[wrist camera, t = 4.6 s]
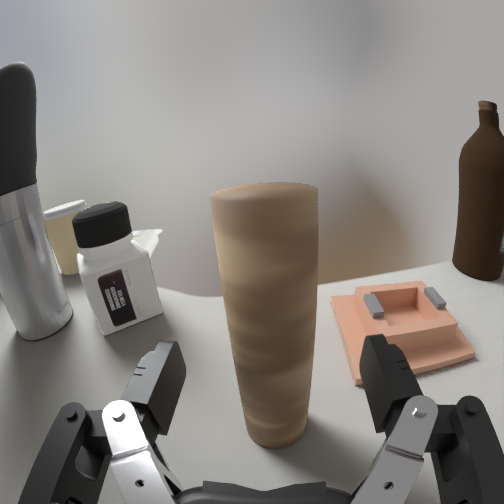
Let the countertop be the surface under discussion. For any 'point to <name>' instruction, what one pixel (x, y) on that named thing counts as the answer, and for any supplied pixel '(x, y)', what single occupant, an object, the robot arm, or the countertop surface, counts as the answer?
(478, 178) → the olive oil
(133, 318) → the container
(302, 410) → the tall wooden cylinder
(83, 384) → the countertop surface
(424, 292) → the clip base
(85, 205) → the coffee cup
